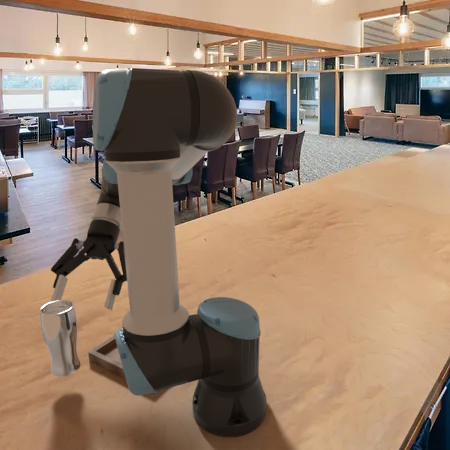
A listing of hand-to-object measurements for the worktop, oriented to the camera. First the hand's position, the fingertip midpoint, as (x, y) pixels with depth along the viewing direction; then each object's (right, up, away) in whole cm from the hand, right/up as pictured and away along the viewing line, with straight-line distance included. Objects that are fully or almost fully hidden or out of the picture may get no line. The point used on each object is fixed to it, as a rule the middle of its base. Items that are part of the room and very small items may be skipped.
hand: (81, 305), depth 92 cm
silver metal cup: (-1, -13, -5) cm, 14 cm away
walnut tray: (+14, -13, +7) cm, 21 cm away
